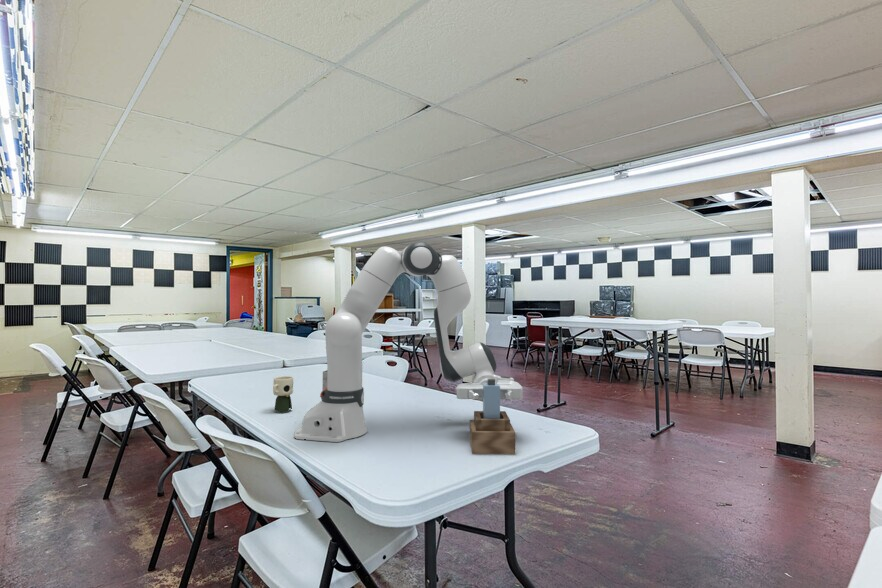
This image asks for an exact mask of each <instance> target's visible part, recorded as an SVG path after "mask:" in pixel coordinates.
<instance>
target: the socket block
mask: <svg viewBox="0 0 882 588" xmlns="http://www.w3.org/2000/svg"><path fill="white" fill-rule="evenodd" d="M469 443H470V449H471V450H470V451H471V455H516V431H515V429H514V427H513V425H512V424H511V419H510V417H509V415H508V413H507V412H506V411H505V410H504V411H501V410H500V419H483V410H480V411H479V410H474V411H473V419H469Z"/></svg>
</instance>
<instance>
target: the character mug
mask: <svg viewBox="0 0 882 588" xmlns="http://www.w3.org/2000/svg"><path fill="white" fill-rule="evenodd" d="M272 385H273V388H272V393H273V395H274V396H276V398H275V404H274V411H275V412H279V413H280V412H281V413H286V412H285V411H287V412H290V410H291V409H292V410H293V405H292V404H293V403H292V398H291V395H292V394H293V393H294V376H290V375H283V376H281V375H280V376H275V377H274V378H273V384H272Z"/></svg>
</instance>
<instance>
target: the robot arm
mask: <svg viewBox="0 0 882 588" xmlns="http://www.w3.org/2000/svg"><path fill="white" fill-rule="evenodd" d="M402 274H404V275H408V276H412V277H422V276H427V277H429V278H430V279H431V281H432V283H433V284H434V287H435V291H436V294H437V306H436V307H435V308H434V310H433V320H434V329H435V334H436V340H437V346H438V351H439V353H438V354H439V370H440V372H441V375H442V377H443V378H444V380H447V381H449V382H452V383H457V382H458V381H462V380H463V379H465V378H468V377H470V376H471V382H469V383H467V382H464V383H463V382H462V383H459V384H457V386H455V388H454V391H455V392H456V399H459V400H472V401H478V400H479V401H481V402H483V383H487V379H495V383H498V384H499V386H500V400H505V401H511V400H518V401H519V400H522V399H523V398H524V396H523V395H524V389H523V388H524V387H523V386H522V385H521V384H520V383H519V382H517V381H515V378H513V377H510V376H509V377H508V376H502V375H498V374H495V373H496V370H497V362H496V358H495V357H494V353H493V352H492V350H491V348H490V347H489V346H488V345H487V344H485V343H483V342H476V343H473V344H470V345H468V346H466V347H463V348H460V349H459V348H458V349H457V350H453V351H452V350H451V348H450V340H449V334H448V327H449V325H450V323H451V322H453V321H452V320H454V319H455V318H456V317H457V316H458V315H460V314H461V313H462V312H463V311H464V310H465V309H466V308H467V307H468V306H469V304H470V302H471V298H472V295H471V290H470V286H469V282H468V280H467V277H466V274H465V272H464V270H463V268H462V266H461V264H460V262H459V260H458V259H457V258H456V256H454V255H452V254H443V255H441V254H440V253H439V252H438V251H437V250H436V249H435V248H433V247H432V246H431V245H430V244H429V243H426V242H423V241H415V242H413V243H410V244H409V245H407V246H406V247H405V248H403V249H402V250H396V249H395V248H392V247H391V246H381V247H379V248H377V250H376V251H374V253H372V255H371V256H370V257H369V258H368V260H367V261H366V263H365V264H364V266H363V267H362V269H361V271H360V272H359V273H358V275H357V277H356V278H355V280H354V281H353V283H352V285H351V286H350V288H349V290H348V291H347V293H346V295H345V297H344V299H343V301H342V303H340V306H339V307H338V310H337V311H336V312H335V314H333V315H332V316H331V317H330V318H329V319H328V320H327V322H326V323H325V328H324V329H325V331H324V332H325V334H324V335H325V351H326V354H325V355H326V363H327V365H326V366H327V368H326V369H327V370H326V371H327V387H326V388H325V389H322V390H323V391H320V393H319V395H320V396H319V398H320V399H321V400H320V401H319V402H318V403H317V404H315V405H314V406H313V407H312V408H310V409H309V410H308V411H307V412H306V413H305V415H304V416H303V418H302V423H301V426H299V427H298V428H297V429H295V431H294V435H293V438H294V437H295V438H296V439H295V438H294V439H295V440H304V439H306V440H305V441H316V442H318V441H319V442H331V443H333V442H334V443H340V442H343V441H347V440H348V439H349V440H350V439H353V438H354V439H355V438H357V437H361V436H363V435H366V433H367V432H368V427H367V425H366V421H365V420H366V419H365V414H364V404H365V391H364V389H365V388H364V386H363V348H362V347H363V343H362V341H363V340H362V337H363V333H364V332H365V330H366V328H367V327H368V325H369V323H370V321H371V320H372V318H373V317H374V315H375V314H376V312H377V311H378V309H379V307H380V306H381V303H383V301H384V299H385V297H386V296H387V294H388V293H389V291H390V289H391V288H392V286H393V284H394V283H395V281H396V279H397V278H398V277H399V276H400V275H402Z"/></svg>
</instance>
